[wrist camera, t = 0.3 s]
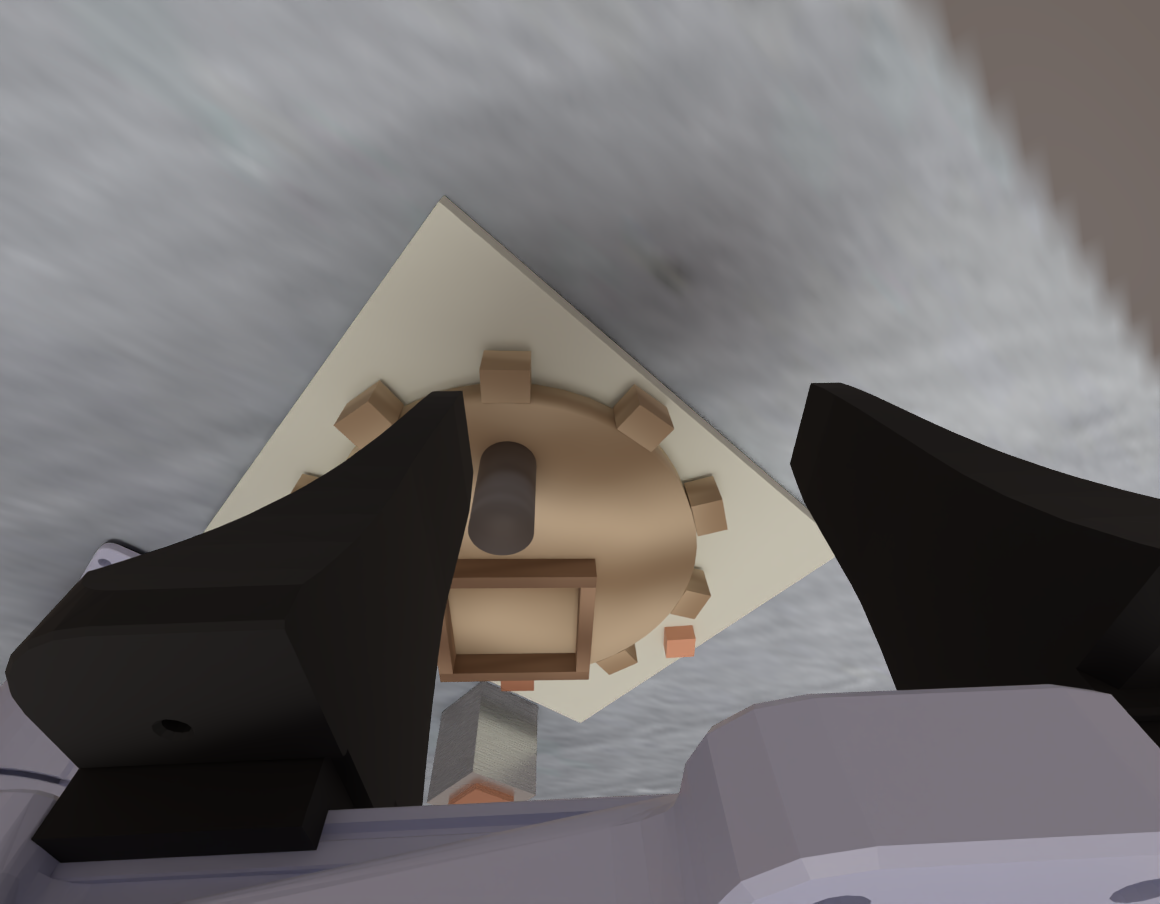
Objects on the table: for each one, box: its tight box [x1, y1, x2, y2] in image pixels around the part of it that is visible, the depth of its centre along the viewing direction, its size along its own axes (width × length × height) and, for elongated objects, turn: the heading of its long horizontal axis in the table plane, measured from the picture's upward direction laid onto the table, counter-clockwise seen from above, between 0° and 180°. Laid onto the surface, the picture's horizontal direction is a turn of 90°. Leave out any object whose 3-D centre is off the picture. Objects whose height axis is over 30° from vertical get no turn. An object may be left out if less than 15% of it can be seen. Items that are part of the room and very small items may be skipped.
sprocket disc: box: [290, 350, 728, 691], centre depth 22 cm, size 17×17×5 cm
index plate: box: [203, 196, 835, 723], centre depth 25 cm, size 18×22×2 cm
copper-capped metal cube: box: [427, 681, 538, 805], centre depth 31 cm, size 4×4×5 cm
